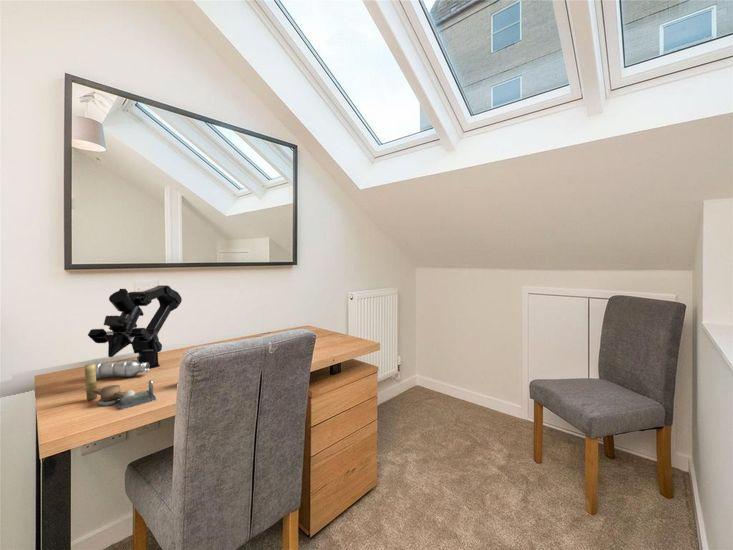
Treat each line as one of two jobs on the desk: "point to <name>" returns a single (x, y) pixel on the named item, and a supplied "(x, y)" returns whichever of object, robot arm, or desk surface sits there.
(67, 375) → the desk surface
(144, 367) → the plastic bottle
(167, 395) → the desk surface
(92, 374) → the tan piece
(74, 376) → the desk surface
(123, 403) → the level stand
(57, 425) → the desk surface
